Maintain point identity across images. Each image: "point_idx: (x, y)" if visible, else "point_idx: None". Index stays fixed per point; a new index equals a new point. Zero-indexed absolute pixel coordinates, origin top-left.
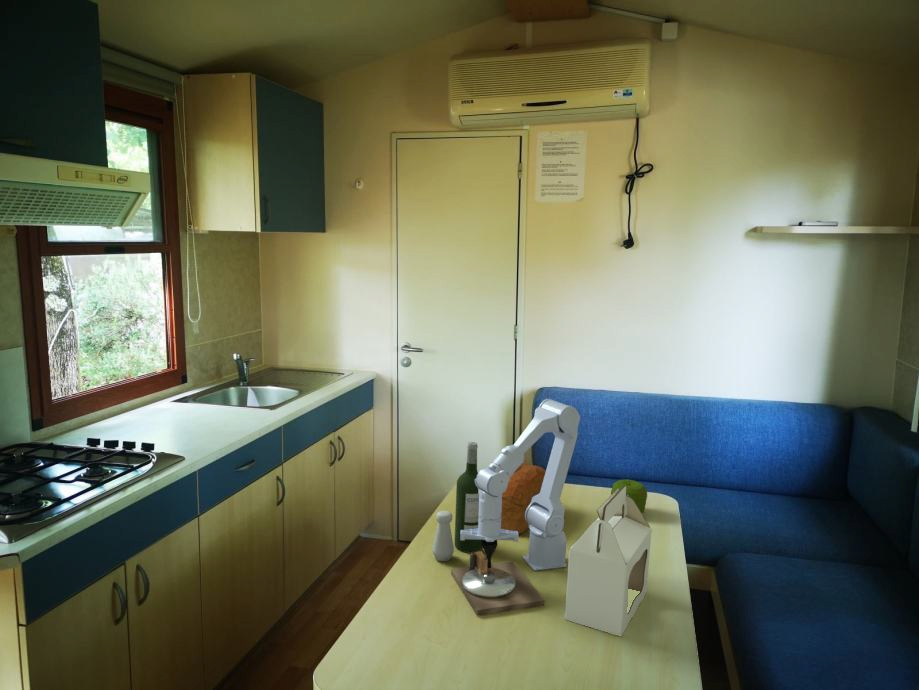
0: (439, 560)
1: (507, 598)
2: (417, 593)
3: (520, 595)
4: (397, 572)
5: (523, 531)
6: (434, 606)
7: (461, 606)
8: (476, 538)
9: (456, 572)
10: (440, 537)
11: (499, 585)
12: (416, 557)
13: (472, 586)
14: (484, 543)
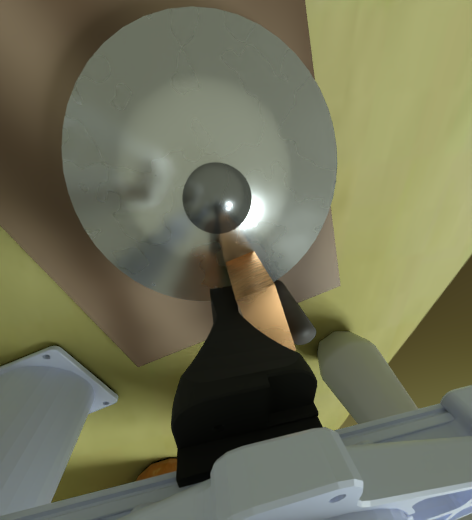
0: (347, 332)
1: (92, 35)
2: (462, 138)
3: (18, 86)
4: (463, 260)
5: (138, 477)
6: (443, 18)
7: (332, 21)
8: (364, 435)
9: (328, 267)
10: (406, 399)
11: (153, 143)
12: (394, 333)
13: (299, 118)
14: (292, 400)
